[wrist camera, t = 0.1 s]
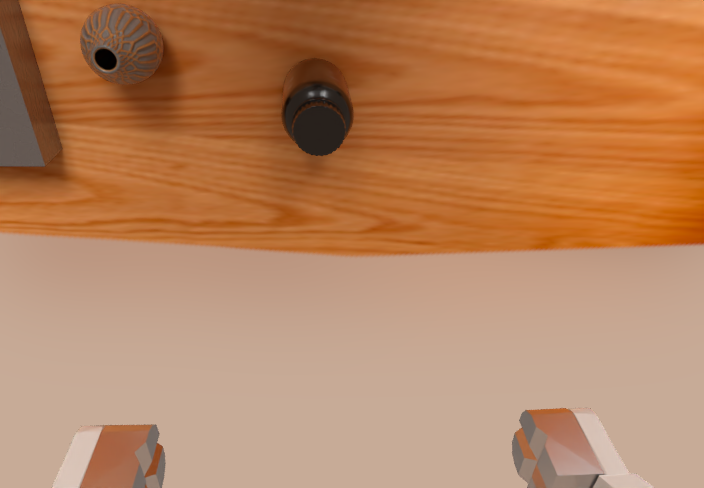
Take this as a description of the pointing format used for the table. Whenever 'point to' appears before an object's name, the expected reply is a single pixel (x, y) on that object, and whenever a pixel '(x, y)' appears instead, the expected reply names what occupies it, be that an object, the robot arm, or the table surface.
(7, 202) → the table surface
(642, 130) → the table surface
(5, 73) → the grey rectangular box
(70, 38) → the table surface
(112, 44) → the vase
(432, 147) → the table surface
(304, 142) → the supplement bottle
